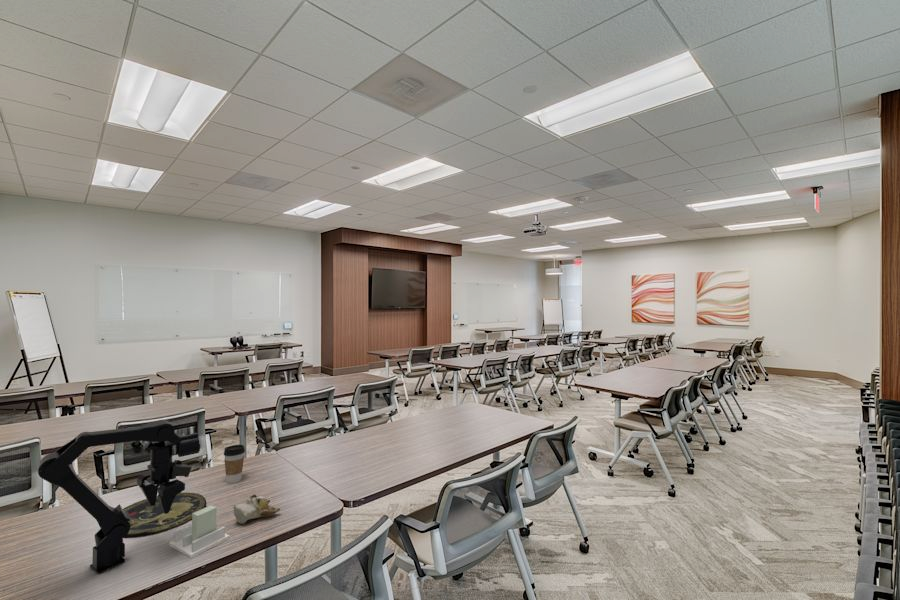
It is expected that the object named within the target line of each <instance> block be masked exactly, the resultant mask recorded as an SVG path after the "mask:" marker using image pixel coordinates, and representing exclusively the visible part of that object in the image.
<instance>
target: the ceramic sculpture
mask: <svg viewBox="0 0 900 600" xmlns="http://www.w3.org/2000/svg"><path fill="white" fill-rule="evenodd" d="M270 502H271V500H270V499H267V498H266V497H265V496H263V495H256V494H253V495H251V496H249V497H248V498H247V500H246V501H245V502H244V503H235V504H234V505H233V515H234V517H235V520H236V522H237V523H238V524H241V525H244V524H245V523H246V522H247V521H249V520H253V519H259V518H261V517H270V516H273V515H274V514H276V513H278V512H279V511H281V508H280V507H278V508H275V507H273V506H269V503H270Z"/></svg>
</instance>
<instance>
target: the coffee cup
mask: <svg viewBox="0 0 900 600" xmlns="http://www.w3.org/2000/svg"><path fill="white" fill-rule="evenodd" d="M245 452H246V449H245V445H243V444H234V445H229V446H226V447H224V451H223V456H224V459H223V461H224V469H225V480H226V483H227V484H236V483H238V482H240V481H241V480H242V477H243V467H244V459H245V455H244V454H245Z"/></svg>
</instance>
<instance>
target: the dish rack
mask: <svg viewBox="0 0 900 600" xmlns="http://www.w3.org/2000/svg"><path fill="white" fill-rule="evenodd" d="M173 539H174V540H172V541H170V542H168V543H169V547H171V548H172V549H173V550H176V551H178V552H180V553H181V554H183V555H185V556H186V557H188V558H189V559H193V558H194V557H196V556H199V555H200V554H202V553H205V552H206V551H208V550H210V549H212V548H214V547H216V546H218V545H220V544H222V543H225V542H226V541H227V540H229V539H230V535H229V534H227V533H226V527H225V526H222V527H219V528H218V529H217V528H216V530H215V531H213V532H211V533H209V534H207V535H205V536H203V537H201V538H199V539H197V540H195V541H193V542H192V524H190V525H188V526H185V527H183V528H180V529H178V530H177V531H174V534H173ZM225 540H226V541H225Z"/></svg>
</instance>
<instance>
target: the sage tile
mask: <svg viewBox="0 0 900 600" xmlns="http://www.w3.org/2000/svg"><path fill="white" fill-rule="evenodd" d="M217 509H218V508H217V506H214V505H209V506H206V508H204V509H201V510H199V511H197V512H194V513H192V520H191V521H192V522H191V525H192V542H193V541H195V540H197V539H199V538H201V537H203V536H205V535H207V534H209V533H211V532H213V531H215V530H216V529H217V513H218V512H217Z"/></svg>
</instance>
